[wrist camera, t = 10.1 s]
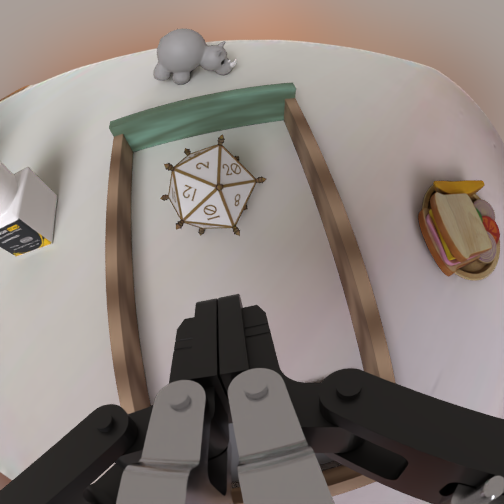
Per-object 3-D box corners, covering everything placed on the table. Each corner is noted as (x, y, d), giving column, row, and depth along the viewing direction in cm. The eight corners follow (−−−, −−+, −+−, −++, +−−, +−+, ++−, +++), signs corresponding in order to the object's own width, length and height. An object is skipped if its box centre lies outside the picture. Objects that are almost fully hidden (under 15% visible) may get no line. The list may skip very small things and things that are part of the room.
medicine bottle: (16, 257, 28) (-46, 217, 16) (23, 211, 30) (-29, 165, 19) (53, 244, 28) (-13, 194, 17) (58, 195, 30) (6, 139, 19)
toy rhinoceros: (223, 100, 38) (241, 57, 31) (146, 83, 35) (153, 38, 27) (229, 74, 41) (247, 35, 33) (161, 59, 37) (169, 17, 30)
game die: (223, 211, 33) (245, 126, 27) (261, 257, 27) (296, 157, 22) (146, 215, 28) (157, 118, 22) (168, 270, 22) (185, 147, 17)
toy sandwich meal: (504, 275, 24) (528, 262, 20) (427, 292, 25) (453, 279, 20) (474, 186, 29) (492, 167, 25) (397, 185, 29) (412, 160, 25)
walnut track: (391, 457, 19) (415, 472, 14) (165, 500, 18) (147, 522, 13) (290, 113, 33) (292, 82, 28) (125, 148, 32) (110, 121, 28)
